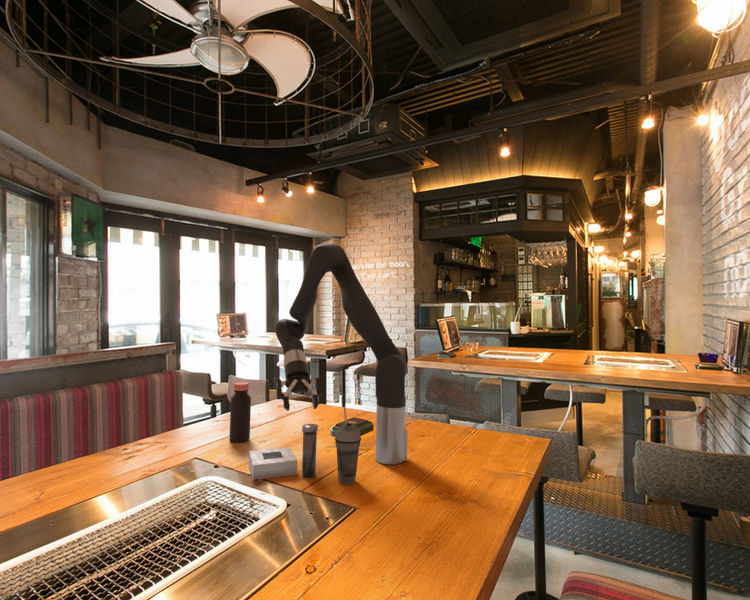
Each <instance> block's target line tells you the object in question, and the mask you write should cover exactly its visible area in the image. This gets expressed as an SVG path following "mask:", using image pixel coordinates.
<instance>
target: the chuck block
mask: <svg viewBox="0 0 750 600" xmlns="http://www.w3.org/2000/svg"><path fill="white" fill-rule="evenodd" d="M248 466H249V470H250V471H249V472H250V475H251V479H252V481H256V479H258V480H264V479H265V480H266V479H271V478H280V477H288V476H295V475H298V473H297V472H298V459H297V457H296V456H295V454H294V452H293V451H292V448H291V447H290V446H282V447H275V448H274V447H273V448H264V449H254V450H249V452H248Z"/></svg>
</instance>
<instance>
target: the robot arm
mask: <svg viewBox="0 0 750 600" xmlns="http://www.w3.org/2000/svg"><path fill="white" fill-rule="evenodd" d="M330 272H331V274H332V275H333V277H334V279H335V280H336V282H337V283H338V286H339V288H340V294H341V303H342V308H343V312H344V313H345V315H346V317H347V319H348V321H349V322H350V324H351V325H352V328H353V329H354V330H355V331H356V332H357V334H358V335H359V336H360V337H361V338H362V339H363V340H364V341H365V343H366V344H367V345H368V346H369V348H370V349H371V351H372V353H373V355H374V357H375V358H376V361H377V364H376V368H375V397H376V416H375V417H376V418H375V419H376V421H375V422H376V423H375V427H376V428H375V452H374V455H375V461H376V462H378V463H381V464H383V465H391V466H392V465H399V463H400V464H401V463H403V461H404V462H407V461H408V436H409V435H408V434H409V433H408V429H406V414H407V413H406V409H407V408H406V403H407V397H406V393H405V391H406V389H405V388H406V386H405V385H406V375H407V373H408V368H409V367H408V366H409V365H408V363H407V361H406V359H405V357H404V356H403V354H402V353H401V352H400V351H399V349H398V348H397V346H396V345H395V343H394V342H393V341H392V339H391V338H390V336H389V334H388V332H387V329H386V327H385V325H384V323H383V321H382V319H381V317H380V316H379V313H378V312H377V309H376V307H375V306H374V304H373V303H372V301H371V300H370V298H369V296H368V295H367V293H366V291H365V289H364V288H363V285H362V284H361V283H360V281H359V279H358V277H357V275H356V273H355V271H354V268H353V266H352V264H351V262H350V259H349V258H348V256H347V253H346V251H345V250H344V248H342V246H340V245H338V244H335V243H323V244H319V245H317V246H316V247H314V249H313V250H312V252H311V255H310V256H309V259H308V262H307V267H306V270H305V273H304V276H303V280H302V283H301V286H300V288H299V290H298V293H297V295H296V297H295V298H294V300H293V302H292V305H291V307H290V309H289V315H290V317H291V318H292V319H293V320H292V319H288V318H281V319H279V320H278V321H277V322H276V325H275V329H274V330H275V331H274V332H275V334H276V335H275V336H276V338H277V339H278V342H279V344H280V346H281V348H282V353H283V368H284V374H285V380H281V378H280V379H279V378H278V379H277V381H276V388H275V389H276V399H277V400H281V401H282V402H283V408H284V410H286V412H288V411H290V409H291V408H290V407H291V406H290V399H289V397H291V395H292V394H294V395H297V394H306V395H307V396H310V397H311V398H312V399H311V402H312V407H313V410H317V408H318V407H319V398H321V397H322V394H323V388H322V384H321V379H320V378H319V377H316V378H315V379H311V378H310V374H309V373H310V372H309V368H308V362H307V361H308V360H307V357H306V353H305V349H304V344H303V341H302V339H303V338H304V337H305V334H306V328H307V324H308V323H307V322H308V320H309V317H310V315H311V313H312V311H313V309H314V308H315V305H316V303H317V298H318V289H319V286H320V283H321V281H322V279H323V278H324V277H325V276H326V274H327V273H330ZM312 385H313V386H312ZM284 386H285V387H286V388H287V389H286V391H285V392H283V391H282V389H283V388H284ZM314 387H315V388H314Z"/></svg>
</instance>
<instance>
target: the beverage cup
mask: <svg viewBox="0 0 750 600" xmlns="http://www.w3.org/2000/svg"><path fill="white" fill-rule="evenodd" d="M346 410H347V409H346V407H343V414H344V424H342V425H341V426H339V427H338V429H337V431H336V433H335V438H334V441H335V447H336V459H337V460H336V461H337V463H336V465H337V476H338V483H339V484H340V485H345V486H350V485H353V484H355V482H356V477H357V470H358V469H357V468H358V460H359V452H360V451H359V450H360V447H361V446H360V445H361V441H362V437H361V432H360V430H359V428H358V427H357V426H356V425H354V424H353V423H352V424H351V423H348V422H347V421H348V420H347V411H346Z"/></svg>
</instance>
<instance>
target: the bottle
mask: <svg viewBox="0 0 750 600" xmlns="http://www.w3.org/2000/svg"><path fill="white" fill-rule="evenodd" d="M233 386H234V387H233V392H234V394H233V395H232V396H231V398H230V415H229V416H230V417H229V441H230V443H234V444H241V443H245V442H248V441H250V437H251V436H250V435H251V409H252V408H251V407H252V406H251V405H252V404H251V403H252V396H250V394H249V393H248V392H249V382H242V381H241V382H240V381H239V382H235V383H234V385H233Z"/></svg>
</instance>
